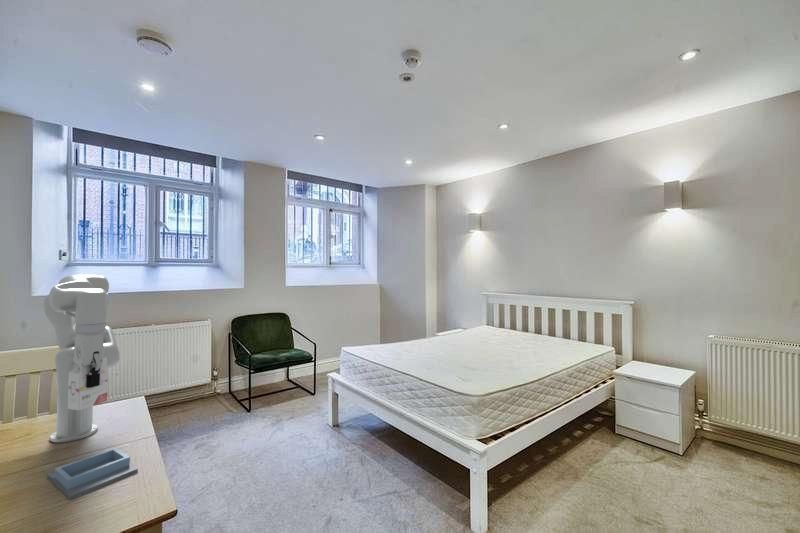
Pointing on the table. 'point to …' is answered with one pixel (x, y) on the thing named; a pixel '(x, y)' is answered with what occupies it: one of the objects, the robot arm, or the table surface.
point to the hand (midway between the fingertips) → (88, 384)
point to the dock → (92, 472)
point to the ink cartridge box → (80, 393)
